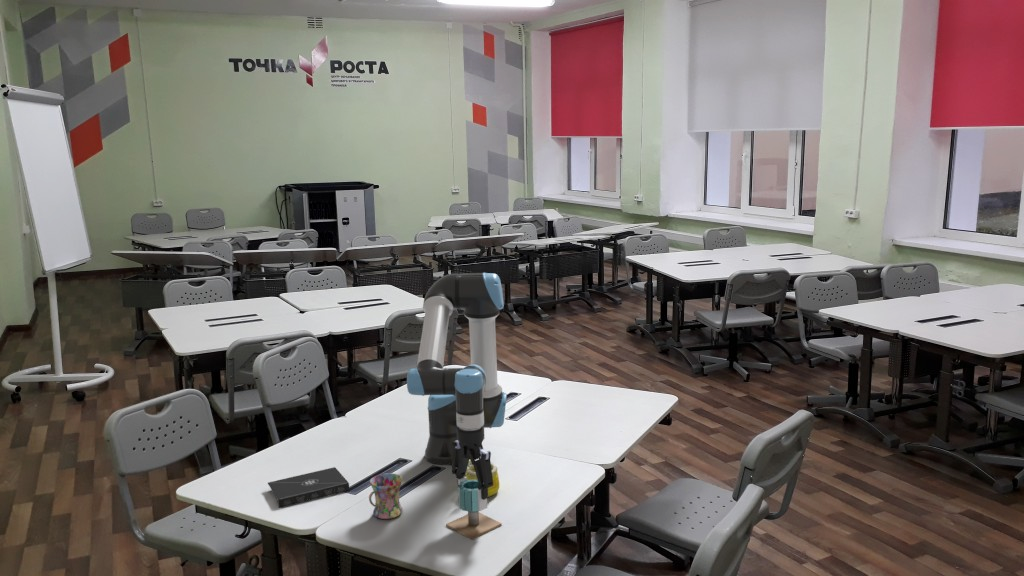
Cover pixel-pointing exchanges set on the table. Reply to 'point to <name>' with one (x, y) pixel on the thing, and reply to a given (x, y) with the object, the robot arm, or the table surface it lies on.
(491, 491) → the mug
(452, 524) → the peg on square base
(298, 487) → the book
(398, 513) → the mug
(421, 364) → the robot arm
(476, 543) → the table surface
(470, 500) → the teal slatted pot
